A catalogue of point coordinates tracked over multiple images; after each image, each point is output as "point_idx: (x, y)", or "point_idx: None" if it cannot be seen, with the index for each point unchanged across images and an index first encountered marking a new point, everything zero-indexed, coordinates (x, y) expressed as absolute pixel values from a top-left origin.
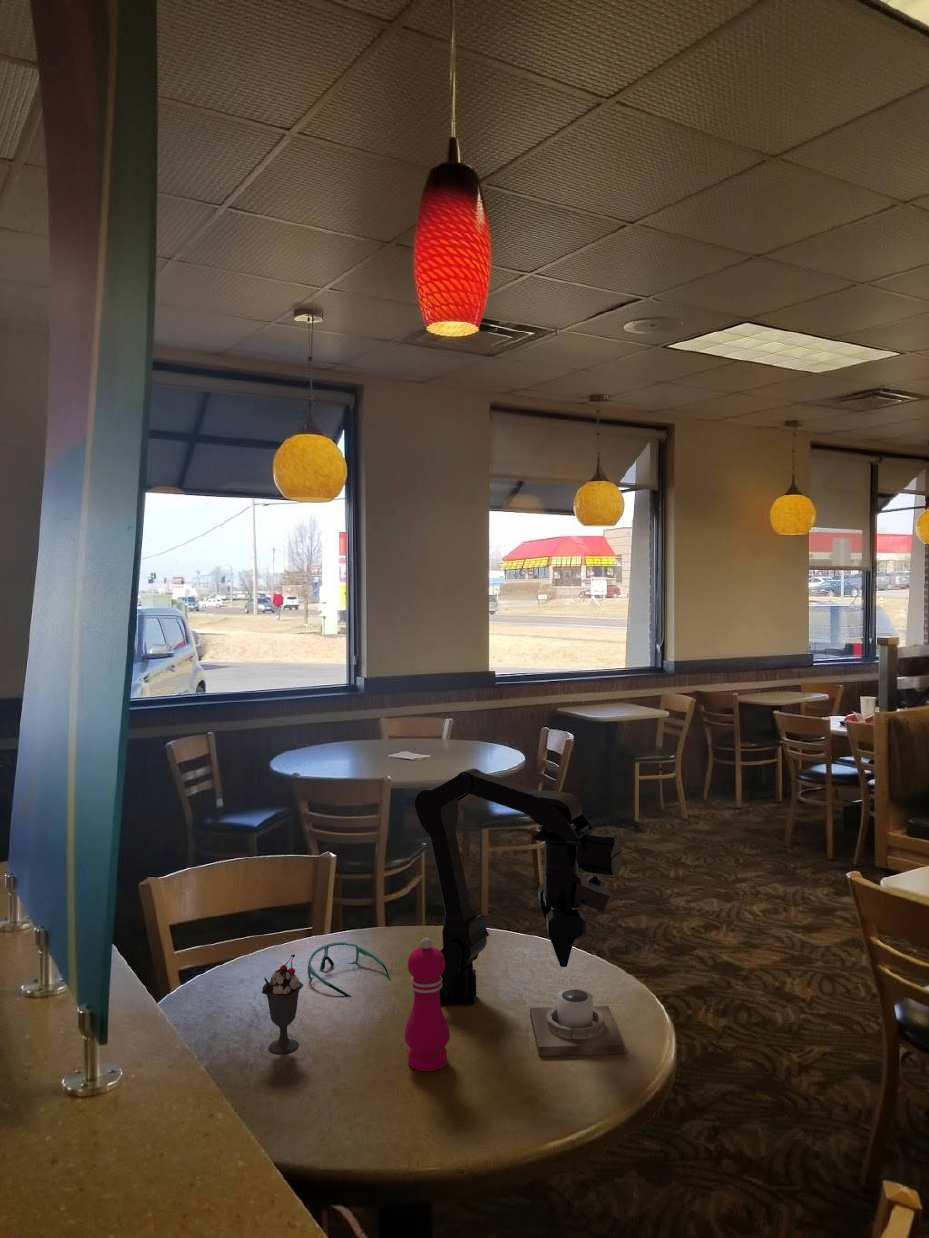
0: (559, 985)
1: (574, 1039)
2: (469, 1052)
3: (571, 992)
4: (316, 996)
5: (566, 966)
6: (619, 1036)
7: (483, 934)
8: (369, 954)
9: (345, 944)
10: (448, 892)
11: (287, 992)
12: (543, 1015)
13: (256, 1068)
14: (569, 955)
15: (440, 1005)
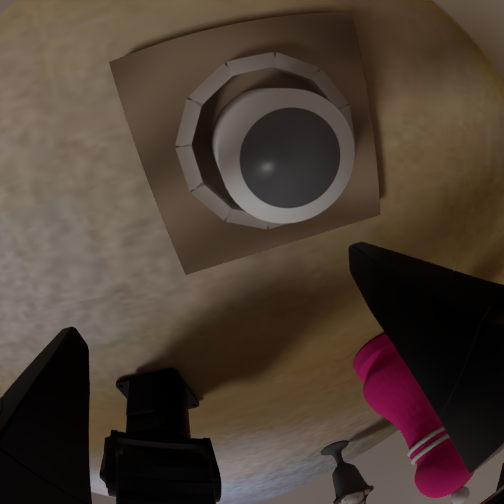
0: (3, 234)
1: None
2: (356, 319)
3: (268, 175)
4: (221, 473)
5: (362, 243)
6: (309, 17)
7: (142, 487)
8: None
9: None
10: None
11: (367, 489)
12: (222, 233)
13: (370, 439)
14: (418, 260)
15: (422, 405)
